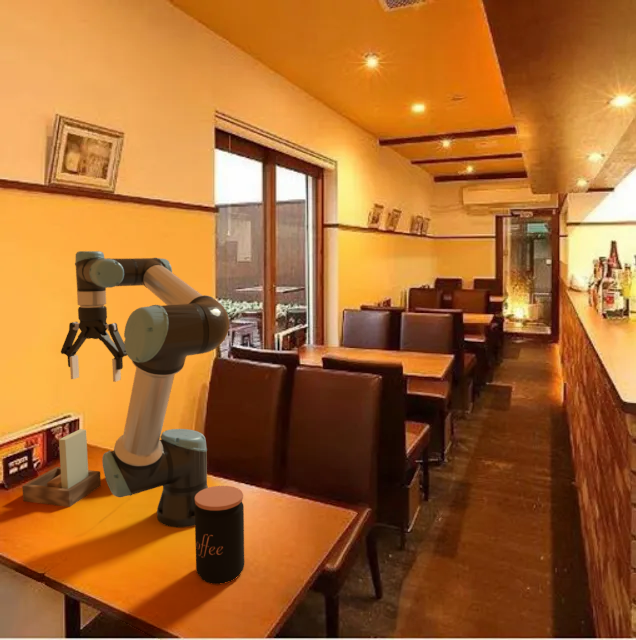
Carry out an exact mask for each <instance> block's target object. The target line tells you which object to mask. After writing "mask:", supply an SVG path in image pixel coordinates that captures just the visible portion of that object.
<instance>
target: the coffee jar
mask: <svg viewBox="0 0 636 640" xmlns="http://www.w3.org/2000/svg"><path fill="white" fill-rule="evenodd" d="M243 499H244V492H243V491H242V490H241V489H239V487H238V488H237V487H235V486H229V485H215V486H208V488H206V489H203V490H201V491H199V492H198V493H197V494H196V496H195V504H196V506H195V525H194V529H195V531H194V534H195V539H194V540H195V569H196V570H195V571H196V574H197V575H198V576H199V577H200V579H201V581H204V582H205V583H208V584H211V583H212V584H213V585H221V584H220V583H223V584H226V583H225V582H228V581H230V582H232V581H231V580H233V579H234V580H236V579H237V578H238V577H240V575H241V574H240V573H242V572H243V571H244V568H245V525H244V524H245V521H244V520H245V517H244V516H245V514H244V512H245V511H244V510H245V508H244V503H243ZM239 574H240V575H239ZM237 576H238V577H237ZM236 577H237V578H236ZM235 578H236V579H235ZM234 580H233V581H234ZM228 583H229V582H228Z"/></svg>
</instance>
